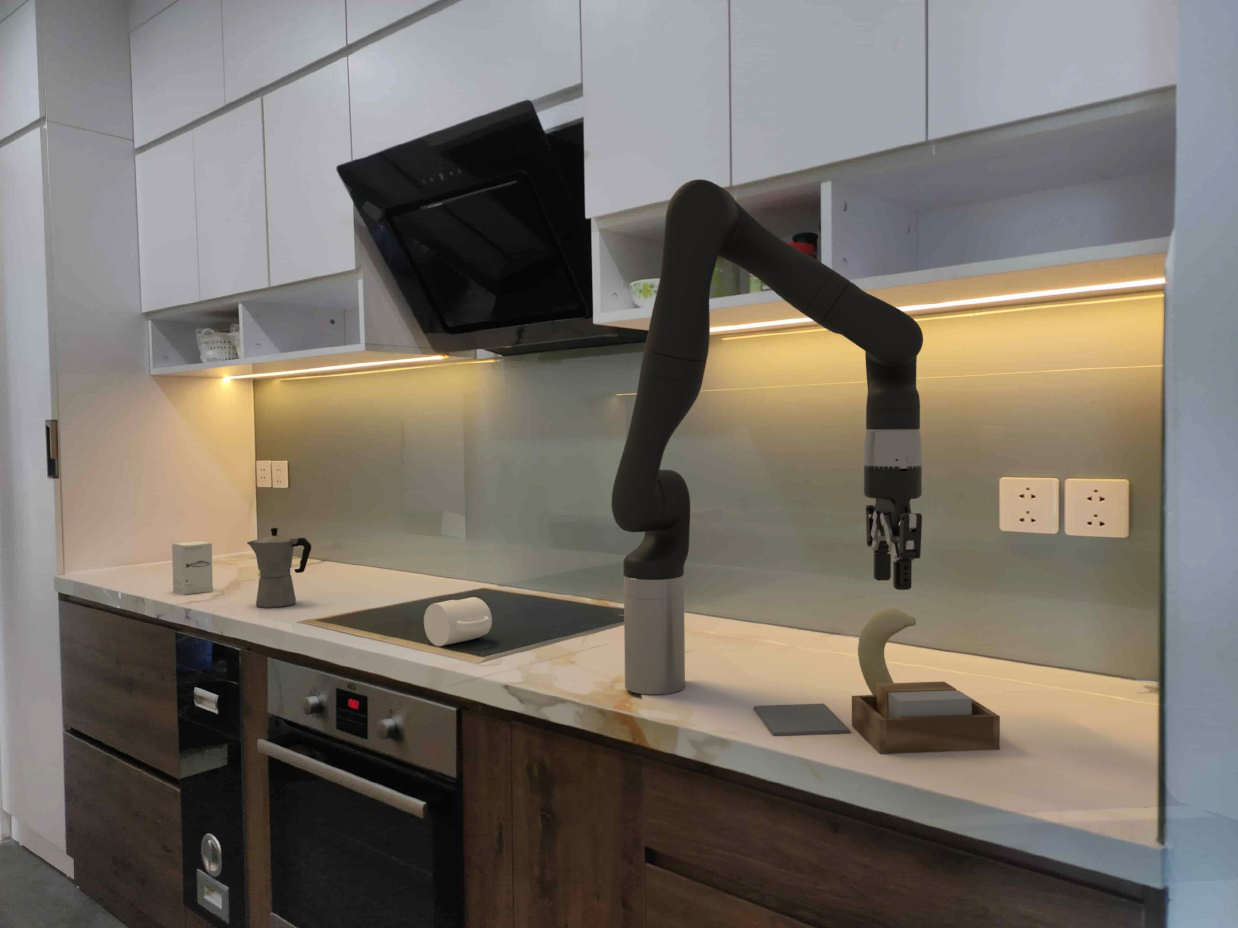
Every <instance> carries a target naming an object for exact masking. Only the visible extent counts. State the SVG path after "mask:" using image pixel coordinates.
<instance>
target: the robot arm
mask: <svg viewBox="0 0 1238 928" xmlns="http://www.w3.org/2000/svg"><path fill="white" fill-rule="evenodd" d="M664 221H665V222H664V232H663V233H664V235H663V236H664V237H663V249H662V256H661V257H662V259H661V270H660V276H659V277H660V278H659V282H658V286H657V287H658V288H657V291H656V295H655V299H654V303H653V308H652V312H651V317H650V322H649V326H648V332H647V336H646V340H645V345H644V349H643V354H642V359H641V363H640V364H641V366H640V370H639V378H638V384H637V391H636V396H635V400H634V406H633V410H632V414H631V415H632V416H631V419H630V424H629V429H628V432H627V436H626V439H625V440H626V441H625V444H624V448H623V450H622V451H623V452H622V454H621V457H620V460H619V465H618V467H617V472H616V474H615V478H614V482H613V487H612V491H611V492H612V493H611V511H612V515H613V519H614V521H615V523H616V525H617V526H618V527H619V528H620V529H622V530H623V531H625V532H629V533H644V537H643V540H642V541H641V543H640V544H639V545H638V546H637V547H636V548H635V549H634V550H632V551H631V552H630V553H628V554H627V555H626V556H625V558H624V560H623V564H622V565H623V610H624V611H623V614H624V615H623V620H624V622H623V623H624V624H623V625H624V626H623V630H624V634H623V635H624V637H623V638H624V687H625V689H626V690H627V691H629V692H631V693H636V694H641V695H656V696H657V695H668V694H669V695H670V694H675V693H677V692H680V691H682V690H683V689H685V688H686V667H685V666H686V650H685V649H686V648H685V647H686V645H685V644H686V643H685V642H686V641H685V640H686V639H685V632H686V631H685V564H686V561H687V560H688V559H687V558H688V556H689V550H690V528H691V527H690V526H691V525H690V524H691V497H690V491H689V488H688V485H687V483H686V481H685V479H684V477H683V476H682V475H681V474H680V473H679V472H676V471H675V470H672V469H661V464H662V460H663V456H664V453H665V451H666V447H667V445H668V443H669V441H670V439H671V437H672V436H673V434H674V433H675V431H676V430H677V428H678V426H680V424H681V422H683V420H684V418H685V417H686V416H687V414H688V413H689V412H690V410H691V408H692V407H693V405H694V404H695V402H696V400H697V398H698V397H699V394H700V391H701V389H702V385H703V381H704V376H705V371H706V366H707V360H708V356H709V348H710V347H709V346H710V333H711V332H710V328H711V325H710V324H711V323H710V321H711V320H710V317H711V315H710V313H711V312H710V293H711V285H712V281H713V275H714V271H715V268H716V263H717V260H718V257H720V258H722V259H724V260H726V261H728V262H730V263H733V264H735V265H737V266H738V267H740V268H741V269H743V270H745V271H746V272H748V273H749V274H751V275H752V276H754V277H755V278H757V279H758V280H759V281H760V282H762V283H763V284H765V285H766V286H767V287H768V288H769V289H771V290H772V291H773V292H774V293H775V294H776V295H777V296H779V297H780V298H781V299H783V300H784V301H785V302H786V303H787V304H789V305H790V306H791V307H793V308H794V309H796V310H797V311H799V312H800V313H801V314H803V315H804V316H806V317H807V318H809V319H810V320H812V321H813V322H815V323H816V324H818V325H820V326H821V327H823V328H824V329H826V330H827V331H829V332H832V333H834V334H837V335H841V336H843V337H844V338H846V339H847V340H848V341H850V342H851V343H853V344H854V345H856V346H857V347H859V348H860V349H862V350H863V351H864V352H865V353H864V355H865V356H864V357H865V358H864V359H865V373H866V385H867V395H866V396H867V397H866V406H865V407H866V408H865V409H866V411H865V419H866V420H865V429H866V430H865V439H864V444H863V495H864V497H865V498H869V499H875V502H874V503H875V504H867V505H866V506H865V521H866V522H865V524H866V525H865V527H866V530H865V531H866V532H865V533H866V545H867V547H868V548H870V549H871V553H872V554H873V578H874V579H875V580H876V581H878V582H880V581H890V579H891V577H893V581H892V582H893V583H892V585H893V588H894V589H895V590H897V591H906V590H907V591H908V590H911V588H912V571H913V570H912V565H913V564H912V562H914V561H915V559H920V558H921V553H922V552H921V549H922V528H923V526H922V525H923V515H922V513H921V512H912V510H911V500H915V499H919V498H921V496H922V494H923V493H922V489H923V487H922V485H923V484H922V483H923V482H922V480H923V478H922V477H923V475H922V474H923V473H922V472H923V470H922V469H923V465H922V464H923V461H922V460H923V456H922V455H923V445H922V437H921V400H920V393H919V391H918V389H917V362H918V360H917V359H918V355H919V353H920V352H921V350H922V347H923V344H924V334H923V331H922V328H921V327H920V325H919V323H918V322H917V321H916V320H915V319H914V318H913V317H911V316H910V315H909V314H907V313H906V312H904V311H903V310H901V309H899V308H897V307H896V306H895V305H894V306H893V305H892V304H890V303H889V302H886V301H884V300H883V299H880V298H878V297H876V296H874V295H872V294H871V293H868V292H866V291H864V290H863V289H861V288H860V287H859V286H858V285H856V284H855V283H854V282H851V280H849V279H847V278H846V277H845V276H843V275H841V274H840V273H838V272H837V271H835V270H834V269H832V268H831V267H830V266H828V265H826V264H825V263H822V262H821V261H819V260H817V259H815V258H814V257H812V256H811V255H808V254H807V253H805V252H804V251H801V250H800V249H798V248H796V247H794V246H793V245H791V244H790V243H788V242H786V241H784V240H783V239H781V238H780V237H779V236H777V235H776V234H774V233H773V232H771V231H770V230H769V229H768V228H766V227H764V226H763V225H762V224H760V222H758V221H757V220H756V219H755V218H754V217H753V216H752V215H750V214H749V213H748V212H747V210H745V209H744V208H743V207H742V206H741V205H740V204H739V203H738V202H737V201H736V200H735V198H734V197H733V196H732V195H731V193H730V192H729V191H728V190H727V189H725V188H724V187H721V186H720V185H719V184H716V183H714V182H713V181H710V180H706V179H693V180H690V181H687V182H685V183H683V184H682V185H681V186H680V187H678V188H677V190H676V191H675V192H674V193H673V195H672V196H671V198H670V200H669V203H668V204H667V208H666V214H665V220H664ZM891 553H892V554H891ZM891 555H892V556H891ZM891 557H892V558H893V562H892V560H891V559H892V558H891ZM892 563H893V564H892ZM891 566H893V569H892V567H891ZM891 569H892V570H893V573H892V572H891V571H892V570H891ZM892 574H893V576H892Z"/></svg>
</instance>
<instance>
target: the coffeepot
mask: <svg viewBox="0 0 1238 928" xmlns="http://www.w3.org/2000/svg"><path fill="white" fill-rule="evenodd" d="M278 531H279V528H277V527H272V528H270V533H271V535H270V536H267V537H262V538H257V539H253V540H250V541H247V543H246V545H248V546H250V547H251V549H252V551H253V552H254V554H255V556H256V557H255V558H256V562H257V568H258V569H257V570H258V571H259V576H260V577H259V581H258V588H257V596H256V600H255V606H256V607H257V608H262V609H263V608H264V609H265V608H268V609H269V608H271V609H272V608H273V609H274V608H281V607H282V608H283V607H288V606H293V605H295V604H296V601H297V600H296V593H295V589H294V583H293V578H292V575H291V569H292V565H293V557H294V556H293V555H294V548H296V547H299V546H302V547H303V550H302V553H301V554H302V555H301V559H300V561H299V568H294V573H296V574H300V573H304V572H305V570H306V566H307V563H308V560H309V556H310V553H311V550H312V544H311V543H310V541H308V540H307V539H306V538H305V537H287V536H281V535H278Z"/></svg>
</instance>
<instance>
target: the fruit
mask: <svg viewBox="0 0 1238 928" xmlns="http://www.w3.org/2000/svg"><path fill="white" fill-rule="evenodd" d="M916 622H917V620H916V618H915V617H914V616H912V615H909V614H907V613H906V612H905V611H903V610H901V609H897V608H887V609H884V610H881V611H878V612H876V613H875V614H873V616H871V618H870V619H869V620H868V621H867V622H866V624H865V625H864V626H863V627H862V630H861V632H860V635H859V637H858V645H857V656H858V663H859V668H860V671H861V674H862V676H863V679H864V681H865V684H866V685H867V688H868V689H869V691H870V693H871V695H877V684H881V683H895V682H894V680H893V679H892V676H891V674H890V672H889V669H888V666H887V663H886V659H885V658H886V657H885V648H886V646H887V645H886V644H887V643H888V641H889V639H891V638H892V637H893V636H894V635H896V634H898V633H899V632H902V631H903V630H905V629H907V628H908V627H913V626H914V627H915V626H916V624H917V623H916Z"/></svg>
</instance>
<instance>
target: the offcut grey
mask: <svg viewBox="0 0 1238 928" xmlns="http://www.w3.org/2000/svg"><path fill="white" fill-rule="evenodd" d="M963 693H964V692H963V691H960V690H958V689H957V690H952V691H923V692H894V693H888V695H889V718H902V717H930V716H958V715H972V699H973V698H972V699H971V697H970V696H969V697H968V695H967V694H965V693H964V694H963Z"/></svg>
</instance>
